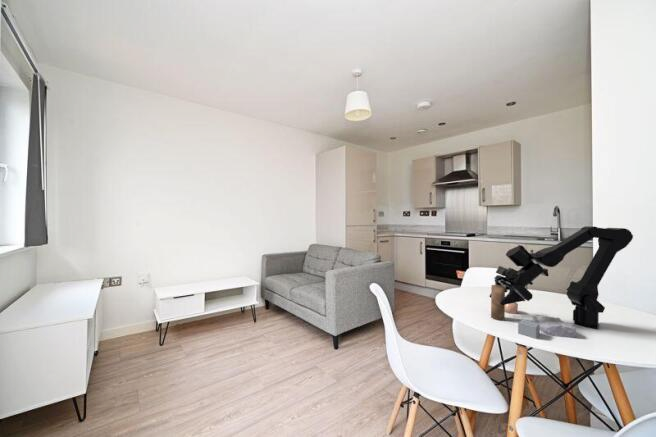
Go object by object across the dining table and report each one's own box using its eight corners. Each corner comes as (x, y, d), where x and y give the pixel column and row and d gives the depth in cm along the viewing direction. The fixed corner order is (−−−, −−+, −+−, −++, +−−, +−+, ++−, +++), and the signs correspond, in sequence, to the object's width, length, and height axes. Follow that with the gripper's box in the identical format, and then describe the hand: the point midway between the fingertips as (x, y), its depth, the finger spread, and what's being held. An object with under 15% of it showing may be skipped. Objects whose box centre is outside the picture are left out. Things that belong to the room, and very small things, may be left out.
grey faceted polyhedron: (539, 335, 92) (539, 323, 92) (535, 339, 89) (535, 327, 89) (522, 330, 96) (522, 319, 96) (518, 334, 93) (518, 322, 93)
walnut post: (506, 318, 106) (506, 286, 106) (502, 321, 103) (502, 288, 103) (493, 315, 110) (493, 284, 110) (489, 318, 107) (489, 286, 107)
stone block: (547, 341, 91) (581, 338, 89) (544, 327, 92) (577, 324, 90) (529, 328, 103) (557, 325, 101) (526, 316, 103) (555, 313, 101)
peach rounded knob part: (519, 312, 114) (519, 303, 114) (515, 315, 111) (515, 305, 111) (505, 309, 118) (505, 300, 118) (501, 311, 115) (502, 302, 115)
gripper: (499, 256, 115) (471, 280, 117) (524, 264, 97) (490, 292, 99) (519, 275, 114) (490, 299, 116) (547, 286, 95) (513, 314, 97)
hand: (495, 300), depth 107 cm, fingers open, 9 cm apart
